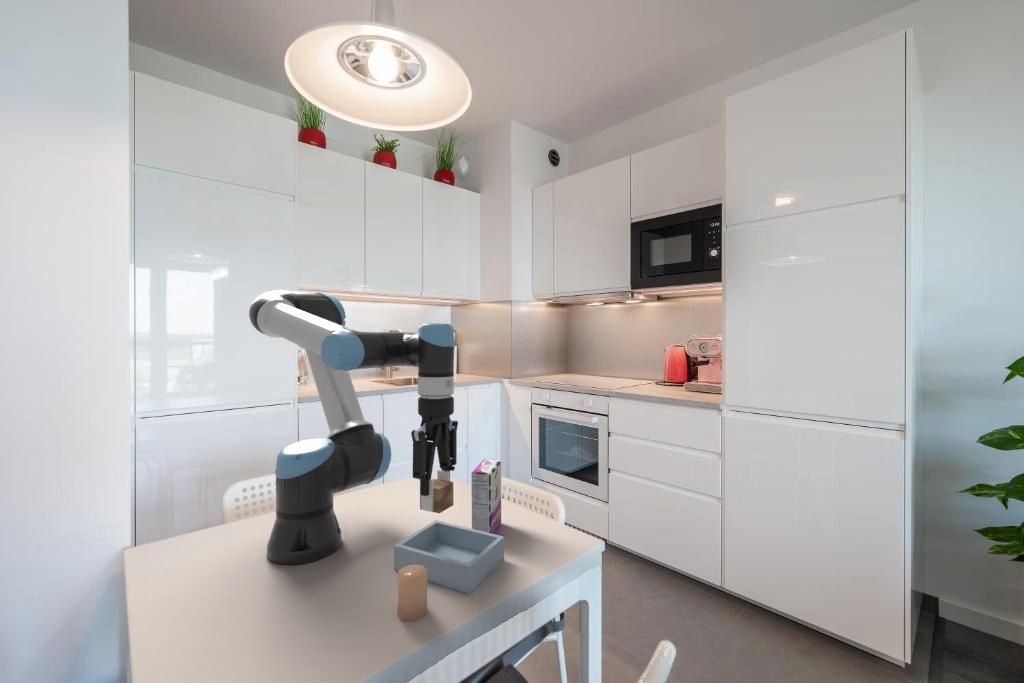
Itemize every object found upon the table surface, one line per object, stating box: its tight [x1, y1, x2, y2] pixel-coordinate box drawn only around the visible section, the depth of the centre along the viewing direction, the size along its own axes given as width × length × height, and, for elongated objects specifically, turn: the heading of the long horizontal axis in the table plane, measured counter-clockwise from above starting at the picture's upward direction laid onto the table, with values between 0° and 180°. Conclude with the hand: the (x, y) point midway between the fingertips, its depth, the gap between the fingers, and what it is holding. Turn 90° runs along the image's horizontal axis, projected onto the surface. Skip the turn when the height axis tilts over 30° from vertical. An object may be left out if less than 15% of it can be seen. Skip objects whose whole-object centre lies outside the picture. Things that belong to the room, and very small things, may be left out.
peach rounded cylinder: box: [397, 565, 428, 622], centre depth 76 cm, size 5×5×7 cm
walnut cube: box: [419, 478, 454, 514], centre depth 94 cm, size 5×5×5 cm
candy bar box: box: [471, 458, 502, 535], centre depth 108 cm, size 11×5×16 cm, turn 168°
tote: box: [393, 519, 505, 595], centre depth 92 cm, size 18×14×5 cm
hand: (435, 504), depth 94 cm, fingers closed on walnut cube, 5 cm apart
